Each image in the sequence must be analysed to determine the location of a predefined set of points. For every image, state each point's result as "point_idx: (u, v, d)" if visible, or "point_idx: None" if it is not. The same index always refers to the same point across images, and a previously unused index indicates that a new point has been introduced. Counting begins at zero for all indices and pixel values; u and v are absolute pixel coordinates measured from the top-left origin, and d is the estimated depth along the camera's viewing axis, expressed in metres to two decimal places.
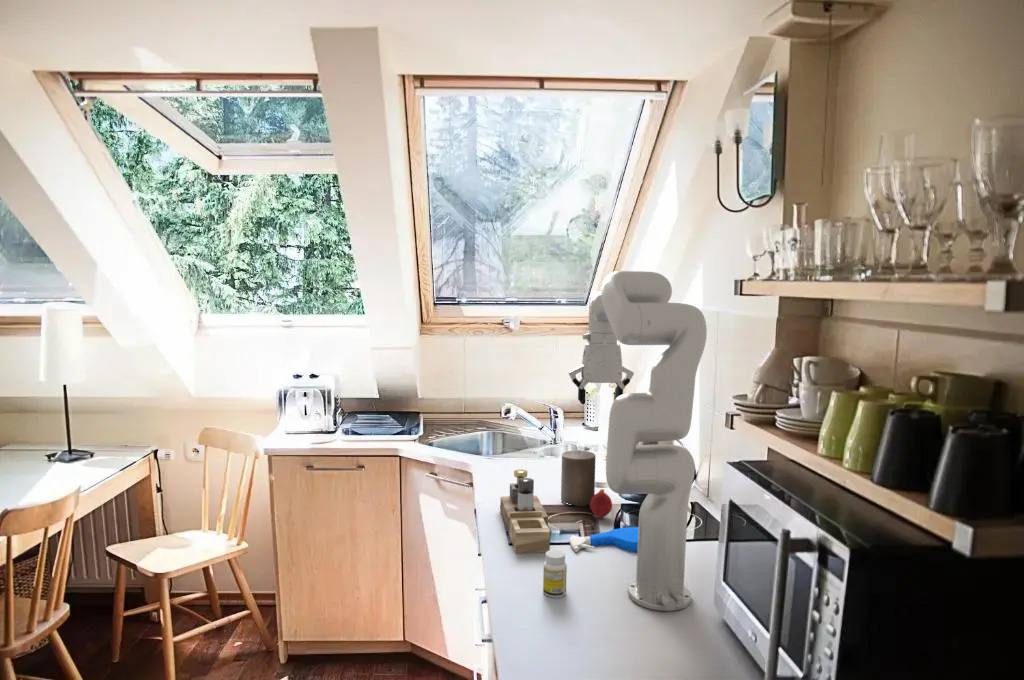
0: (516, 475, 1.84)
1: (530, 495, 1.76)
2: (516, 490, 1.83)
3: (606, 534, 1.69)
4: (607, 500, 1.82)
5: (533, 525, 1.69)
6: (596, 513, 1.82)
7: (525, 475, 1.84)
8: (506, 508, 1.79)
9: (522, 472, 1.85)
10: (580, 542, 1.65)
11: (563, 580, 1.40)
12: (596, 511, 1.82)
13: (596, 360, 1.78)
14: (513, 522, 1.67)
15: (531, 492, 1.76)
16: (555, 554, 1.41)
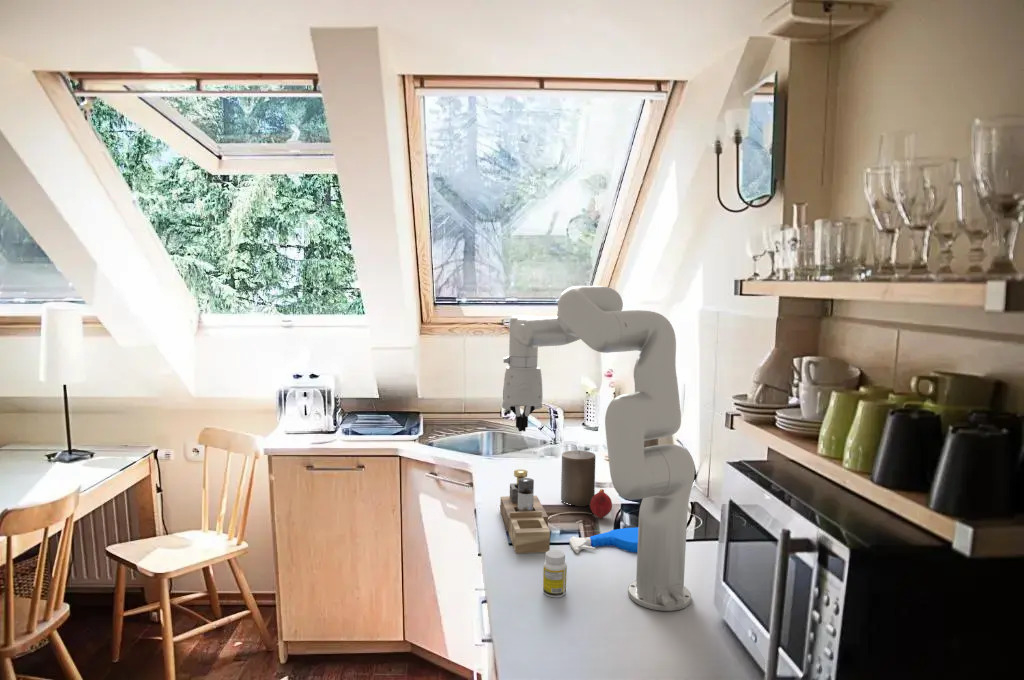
0: (516, 475, 1.84)
1: (530, 495, 1.76)
2: (516, 490, 1.83)
3: (606, 534, 1.68)
4: (607, 500, 1.82)
5: (533, 525, 1.69)
6: (596, 513, 1.82)
7: (525, 475, 1.84)
8: (506, 508, 1.79)
9: (522, 472, 1.85)
10: (581, 543, 1.64)
11: (563, 580, 1.40)
12: (596, 511, 1.82)
13: (515, 383, 1.80)
14: (513, 522, 1.67)
15: (531, 492, 1.76)
16: (555, 554, 1.41)
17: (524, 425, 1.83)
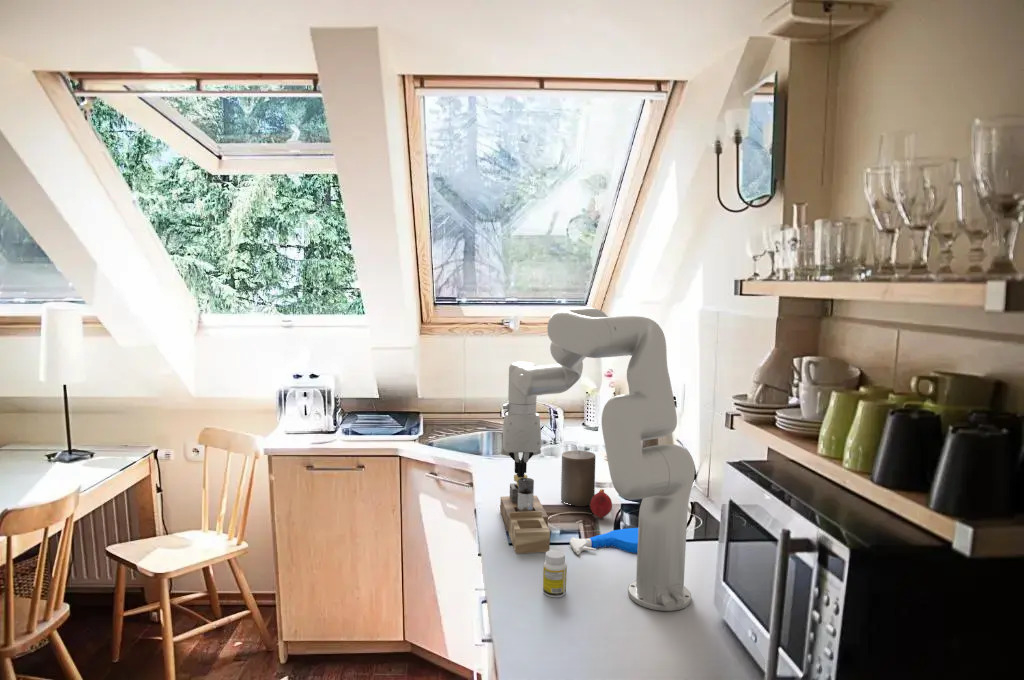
0: (516, 479, 1.84)
1: (530, 495, 1.76)
2: (516, 490, 1.83)
3: (606, 535, 1.68)
4: (607, 500, 1.82)
5: (533, 525, 1.69)
6: (596, 513, 1.82)
7: None
8: (506, 508, 1.79)
9: None
10: (581, 544, 1.63)
11: (563, 580, 1.40)
12: (596, 511, 1.82)
13: (514, 430, 1.81)
14: (513, 522, 1.67)
15: (531, 492, 1.76)
16: (555, 554, 1.41)
17: (523, 471, 1.84)
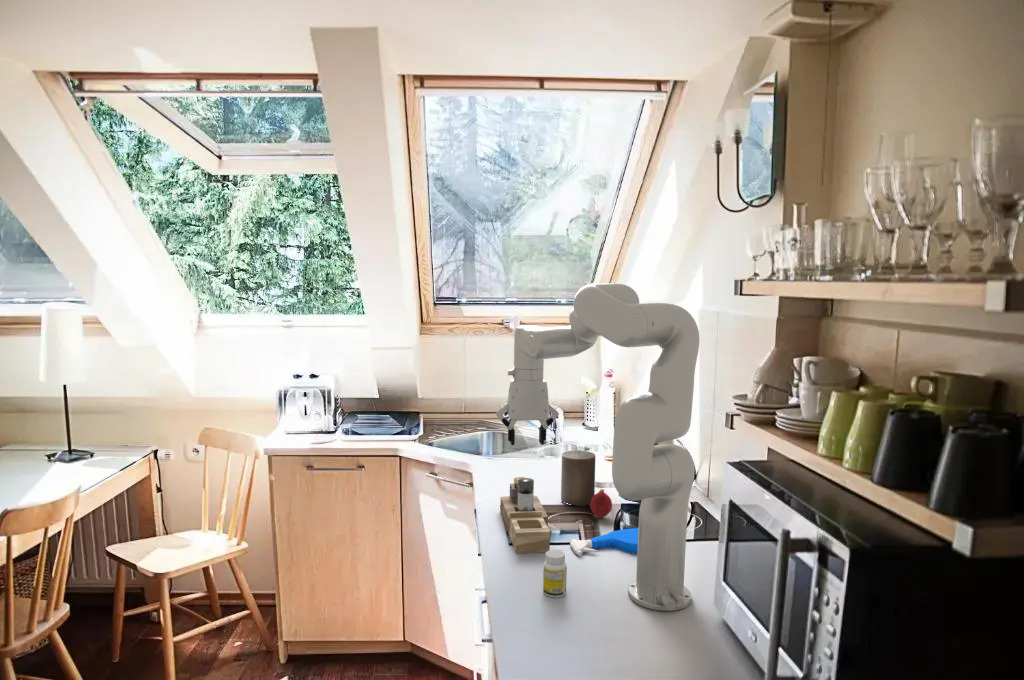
0: (516, 483, 1.84)
1: (530, 495, 1.76)
2: (516, 490, 1.83)
3: (606, 536, 1.67)
4: (607, 500, 1.82)
5: (533, 525, 1.69)
6: (596, 513, 1.82)
7: None
8: (506, 508, 1.79)
9: None
10: (582, 546, 1.62)
11: (563, 580, 1.40)
12: (596, 511, 1.82)
13: (520, 397, 1.72)
14: (513, 522, 1.67)
15: (531, 492, 1.76)
16: (555, 554, 1.41)
17: (542, 438, 1.75)
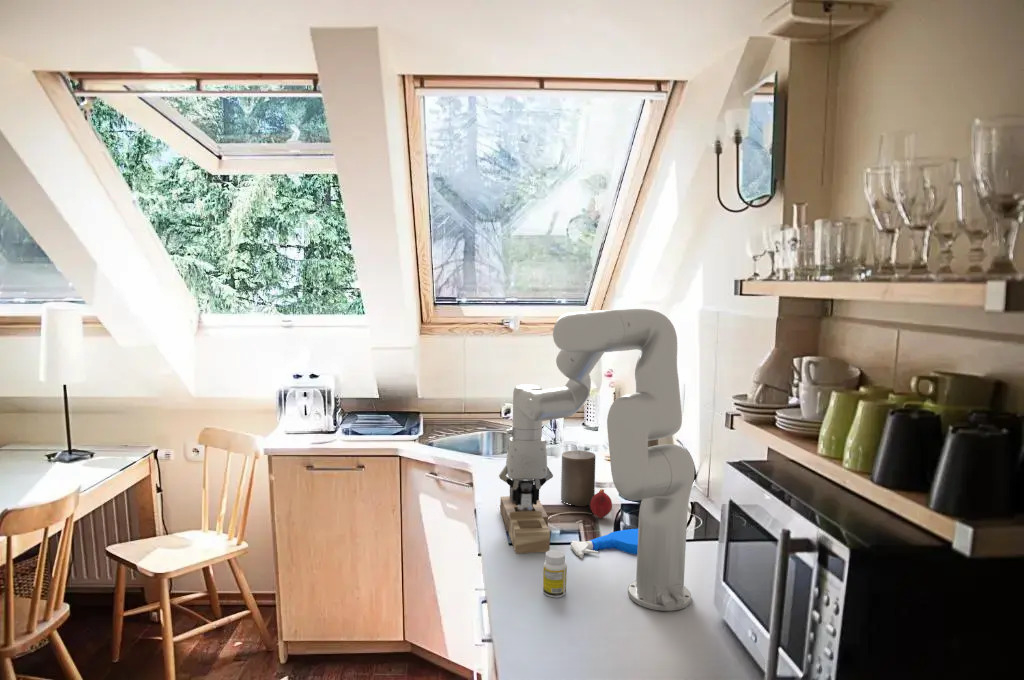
0: None
1: (530, 495, 1.76)
2: None
3: (607, 537, 1.66)
4: (607, 500, 1.82)
5: (533, 525, 1.69)
6: (596, 513, 1.82)
7: None
8: (506, 508, 1.79)
9: None
10: (583, 547, 1.62)
11: (563, 580, 1.40)
12: (596, 511, 1.82)
13: (519, 457, 1.73)
14: (513, 522, 1.67)
15: (531, 492, 1.76)
16: (555, 554, 1.41)
17: (535, 498, 1.76)
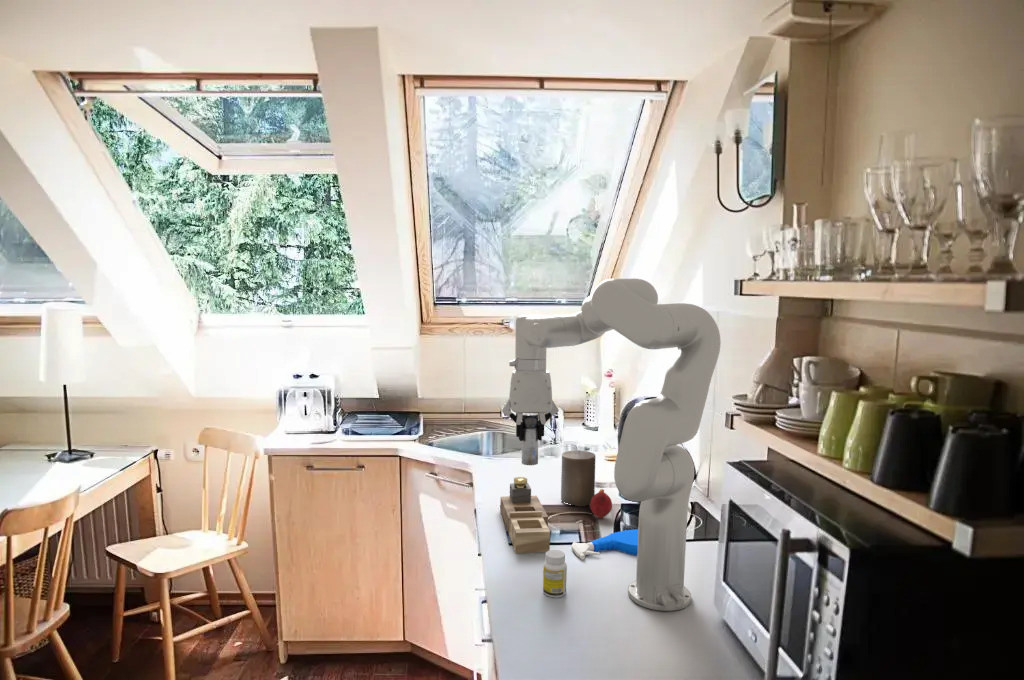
0: (516, 483, 1.84)
1: (534, 430, 1.67)
2: (516, 490, 1.83)
3: (607, 538, 1.66)
4: (607, 500, 1.82)
5: (533, 525, 1.69)
6: (596, 513, 1.82)
7: (525, 483, 1.85)
8: (506, 508, 1.79)
9: (522, 480, 1.85)
10: (584, 549, 1.61)
11: (563, 580, 1.40)
12: (596, 511, 1.82)
13: (522, 389, 1.65)
14: (513, 522, 1.67)
15: (536, 427, 1.68)
16: (555, 554, 1.41)
17: (540, 434, 1.68)
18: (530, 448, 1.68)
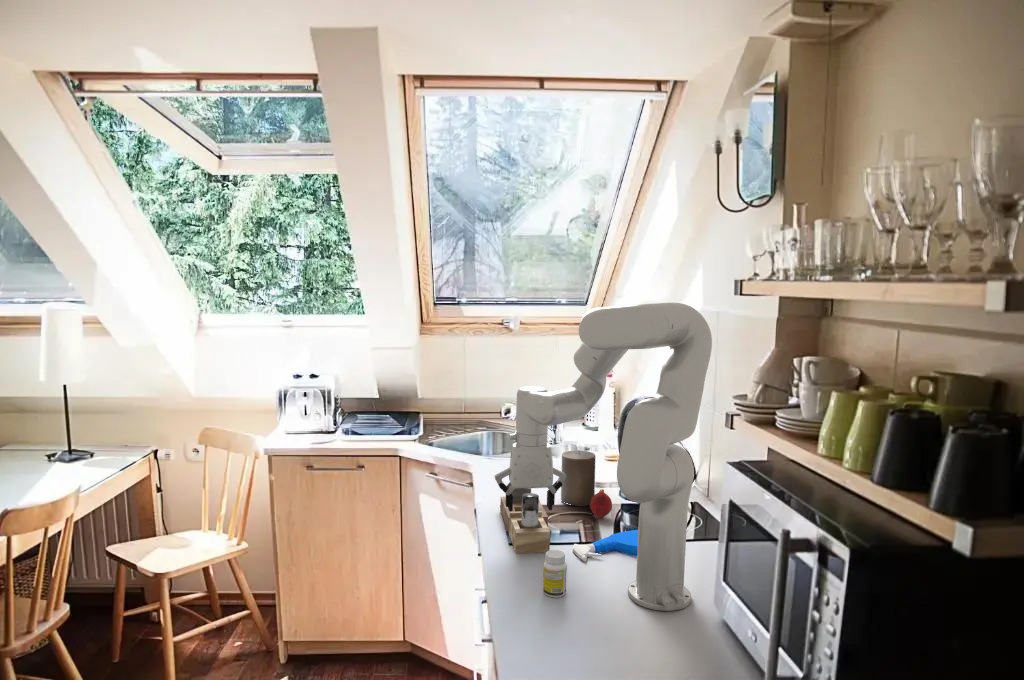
0: None
1: (535, 512, 1.64)
2: (516, 490, 1.83)
3: (608, 539, 1.65)
4: (607, 500, 1.82)
5: None
6: (596, 513, 1.82)
7: None
8: (506, 508, 1.79)
9: None
10: (586, 551, 1.60)
11: (563, 580, 1.40)
12: (596, 512, 1.82)
13: (523, 464, 1.61)
14: (513, 522, 1.67)
15: (536, 509, 1.64)
16: (555, 554, 1.41)
17: (551, 503, 1.64)
18: None
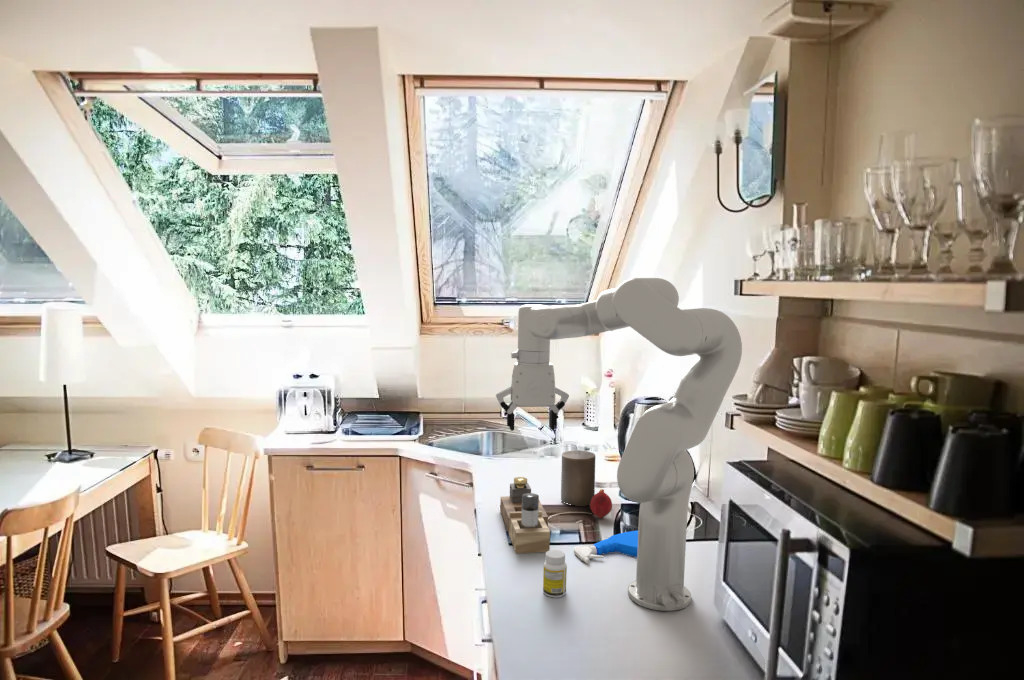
0: (516, 483, 1.84)
1: (535, 512, 1.64)
2: (516, 490, 1.83)
3: (609, 541, 1.64)
4: (607, 500, 1.82)
5: None
6: (596, 513, 1.82)
7: (525, 483, 1.85)
8: (506, 508, 1.79)
9: (522, 480, 1.85)
10: (588, 552, 1.59)
11: (563, 580, 1.40)
12: (596, 511, 1.82)
13: (525, 381, 1.59)
14: (513, 522, 1.67)
15: (536, 509, 1.64)
16: (555, 554, 1.41)
17: (553, 423, 1.62)
18: None
